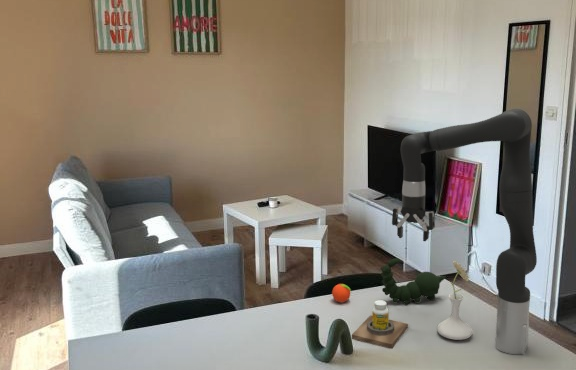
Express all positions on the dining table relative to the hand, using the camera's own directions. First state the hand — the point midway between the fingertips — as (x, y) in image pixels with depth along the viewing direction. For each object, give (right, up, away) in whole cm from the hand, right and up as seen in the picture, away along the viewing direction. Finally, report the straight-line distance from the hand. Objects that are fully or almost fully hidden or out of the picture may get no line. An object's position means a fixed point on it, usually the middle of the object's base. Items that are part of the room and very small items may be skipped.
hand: (412, 239), depth 193 cm
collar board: (-11, -32, -2) cm, 34 cm away
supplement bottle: (-11, -30, -2) cm, 33 cm away
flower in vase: (+13, -32, -4) cm, 34 cm away
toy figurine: (+5, -26, +22) cm, 35 cm away
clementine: (-22, -26, +23) cm, 41 cm away
